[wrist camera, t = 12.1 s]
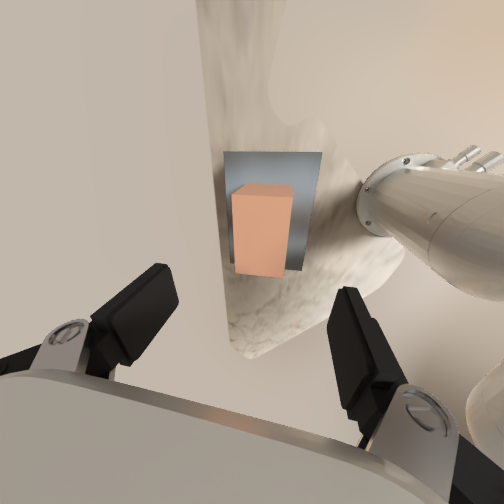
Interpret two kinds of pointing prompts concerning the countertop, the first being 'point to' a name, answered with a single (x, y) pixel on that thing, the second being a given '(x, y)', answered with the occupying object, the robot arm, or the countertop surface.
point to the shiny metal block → (277, 173)
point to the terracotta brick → (261, 228)
